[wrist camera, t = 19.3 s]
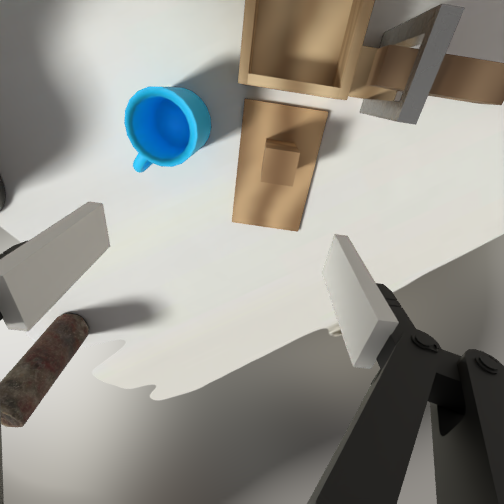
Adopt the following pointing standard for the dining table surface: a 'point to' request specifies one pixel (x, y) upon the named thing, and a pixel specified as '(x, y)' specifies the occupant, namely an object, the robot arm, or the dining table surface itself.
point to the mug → (166, 125)
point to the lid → (276, 163)
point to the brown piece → (40, 369)
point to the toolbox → (309, 48)
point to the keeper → (417, 61)
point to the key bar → (441, 75)
